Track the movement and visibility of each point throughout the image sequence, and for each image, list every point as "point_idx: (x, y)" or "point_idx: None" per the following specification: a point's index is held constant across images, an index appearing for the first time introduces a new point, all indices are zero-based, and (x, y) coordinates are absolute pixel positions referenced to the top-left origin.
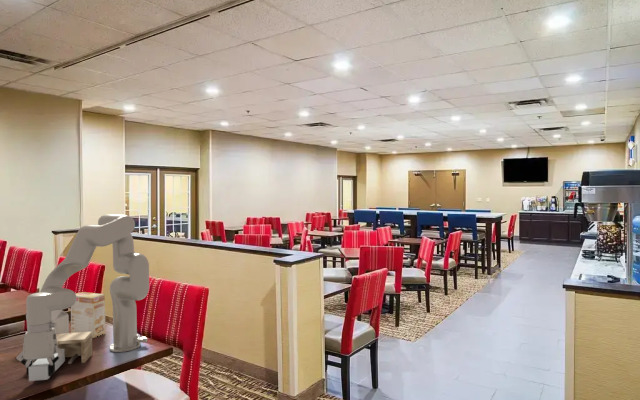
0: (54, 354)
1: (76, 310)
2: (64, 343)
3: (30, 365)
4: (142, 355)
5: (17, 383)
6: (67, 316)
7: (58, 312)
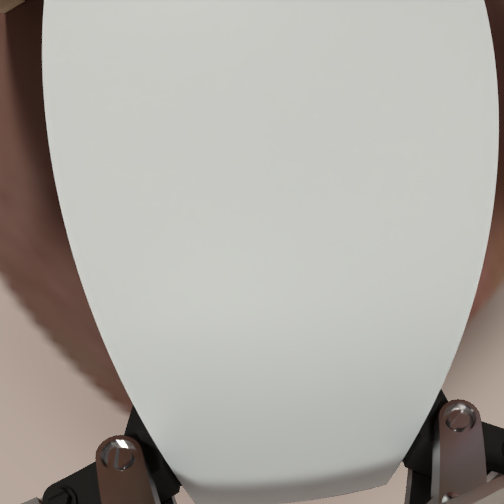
0: (407, 60)
1: None
2: None
3: (177, 483)
4: None
5: (87, 315)
6: None
7: None
